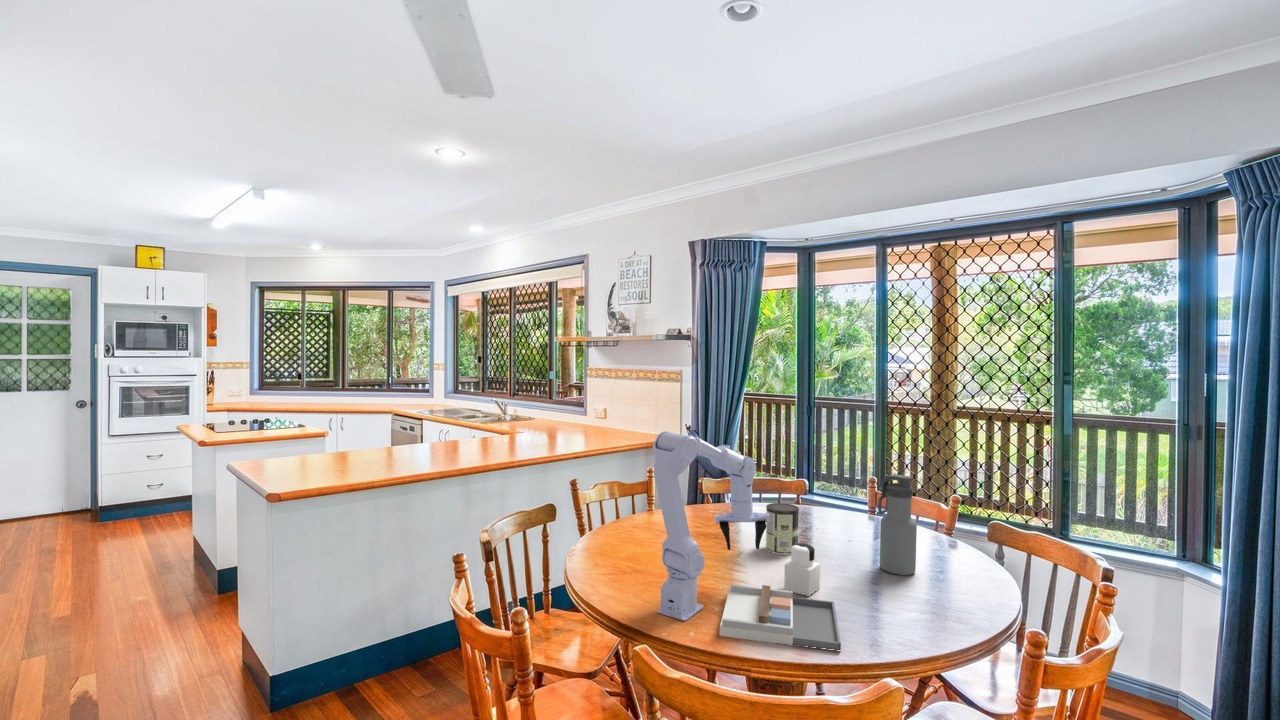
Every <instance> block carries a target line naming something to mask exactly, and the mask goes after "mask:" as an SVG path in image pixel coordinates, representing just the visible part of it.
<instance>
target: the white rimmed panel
mask: <svg viewBox="0 0 1280 720" xmlns="http://www.w3.org/2000/svg"><path fill="white" fill-rule="evenodd" d="M761 593H762V587H761V586H760V587H758V586H750V585H741V584H732V583H731V584H730V588H729V589H728V594H727V597H726V600H725V604H724V610H723V612H722V617H721V620H720V625H719V636H720V637H727V638H733V639H740V640H747V639H750V640H749V641H755V640H758V641H757V642H762V641H763V642H764V643H771V644H777V643H780V644H779V645H784V644H789V645H788V646H792V645H793V597H794V596H793V594H794V592H793V591H787V590H785V589H776V588H770V605H769V617H768V623H760V622H759V610H760V601H761ZM772 596H773V597H781V598H790V599H791V626H790V625H782V624H774V623H770V616H771V603H772ZM763 642H762V643H763Z"/></svg>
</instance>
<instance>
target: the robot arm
mask: <svg viewBox="0 0 1280 720" xmlns="http://www.w3.org/2000/svg"><path fill="white" fill-rule="evenodd" d="M651 447H652V451H653V456H654V466H653V477H654V481H655V486H656V491H657V495H658V499H659V505H660V510H661V513H662V518H663V522H664V528H665V532H666V535H667V537H666V538H665V539H664V540H663V542H662V543H661V547H662V553H661V561H662V564H663V565H664V566H665V569H666V572H667V573H668V574H667V578H666V580H665V581H664V582H663V583H662V585H661V587H660V607H659V609H657V613H658V614H661V615H665V616H667V617H670V618H674V619H678V620H680V621H683V622H684V621H685V622H686V621H687V620H689V619H690V618H691V617H693V616H694V615H695V614H698V612H700V611H701V610H702V609H703V608H704V605H703V604H701V603H698V577H700V575H701V574H702V572H703V570H704V568H705V564H706V563H705V561H706V560H705V559H706V558H705V555H704V554H703V553H702V551H701V550H700V546H699V544H698V543H697V542H696V540H695V539H694V538H693V537H692V535H691V533H690V528H689V524H688V519H687V514H686V510H685V504H684V500H683V495H682V491H681V484H680V479H679V476H680V475H681V474H683V473H684V472H685V471H686V469H687V468H688V467H689V466H690V465H691V464H692V462H693V461H694V460H695V459H696V457H700V456H701V457H704V458H707V459H709V460H710V463H711V464H712V466H713V467H715V468H718V469H720V470H722V471H725V472H726V475H729V477H730V478H729V483H730V512H728V513H727V512H726V513H721V514H720V513H718V514H715V515H714V523H715V525H718V524H719V527H720V530H721V532H722V534H723V536H724V539H725V542H726V548H727V550H728V551H731V541H730V540H731V539H730V538H731V537H730V536H731V535H730V530H731V529H730V523H754V528H755V529H754V531H755V540H754V541H755V542H754V543H755V549H756V550H760V544H761V541H762V537H763V534H764V532H766V523H770V515H769V513H767V512H765V513H764V512H754V511H753V487H752V486H753V483H754V480H755V479H754V477H755V476H754V475H755V474H756V471H757V465H756V463H755V461H754V460H753V458H752V457H751V456H746V455H742V454H741V453H742V452H740V451H739V450H735V451H734V450H732V449H731V446H730V445H727V444H722V445H717V446H716V447H715V446H714V445H712V444H710V443H708V442H707V441H705V440H703V439H701V438H700V437H695V436H693V435H689V434H688V435H685V434H680V433H674V432H669V431H667V430H664V431H662V432H660V433H659V434H658V435H657V437H656V438H655V440H654V442H653V444H652V446H651Z"/></svg>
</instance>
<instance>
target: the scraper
mask: <svg viewBox="0 0 1280 720" xmlns="http://www.w3.org/2000/svg"><path fill="white" fill-rule="evenodd" d="M761 588H762V593H761V601H760V610H759V622H760V623H768V617H769V605H770V589H771V585H767V584H765V585H764V584H763V585H761Z"/></svg>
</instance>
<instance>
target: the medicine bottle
mask: <svg viewBox="0 0 1280 720" xmlns="http://www.w3.org/2000/svg"><path fill="white" fill-rule="evenodd" d="M815 551H816V550H815V547H813V546H812V545H810V544H808V543H800V542H798V544H794V545H793V546H792V547H791V555H790V559H791V560H789V561H788V562H786V563H784V582H783V583H784V589H783V590H786V591H787V590H788V591H793V593H794V592H795V593H794V594H799V595H801V594H802V596H804V595H806V597H808V596H809V597H810V596H812V595H813V594H814V593H816V592H817V591H818V590H820V588H821V587H820V586H821V584H820V583H821V581H820V580H821V571H820V570H821V563H819V562H816V561H815ZM815 591H816V592H815ZM811 594H812V595H811Z"/></svg>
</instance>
